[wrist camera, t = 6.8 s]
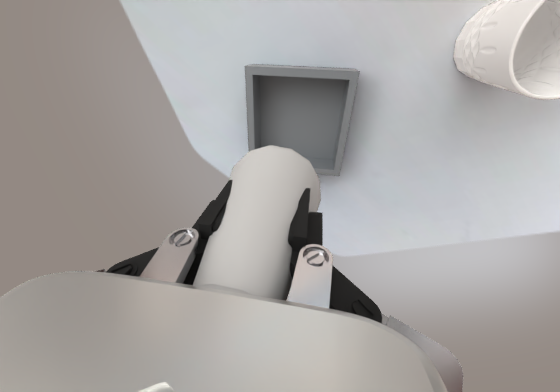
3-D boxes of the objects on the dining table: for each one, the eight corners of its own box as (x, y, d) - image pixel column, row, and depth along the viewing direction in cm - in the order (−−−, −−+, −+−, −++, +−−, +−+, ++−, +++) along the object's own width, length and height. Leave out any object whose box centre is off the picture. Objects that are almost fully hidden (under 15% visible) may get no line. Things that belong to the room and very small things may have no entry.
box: (354, 68, 27) (359, 71, 23) (337, 163, 33) (339, 176, 30) (254, 64, 28) (244, 65, 25) (256, 156, 34) (249, 167, 31)
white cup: (559, -10, 21) (717, -50, 13) (510, 85, 25) (604, 102, 17) (466, -10, 22) (556, -47, 13) (434, 82, 26) (487, 97, 18)
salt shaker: (321, 207, 17) (319, 469, 7) (249, 207, 18) (144, 431, 8) (320, 131, 14) (314, 382, 3) (233, 136, 15) (23, 340, 5)
